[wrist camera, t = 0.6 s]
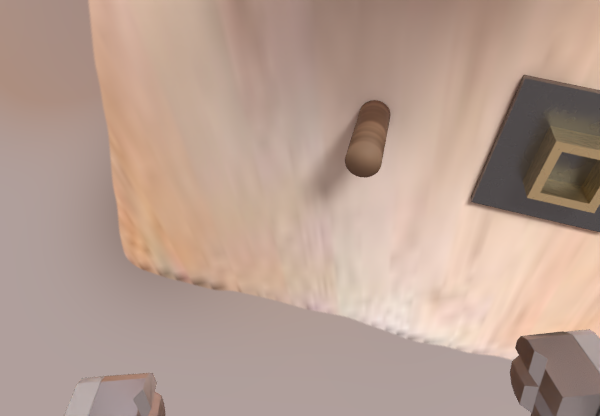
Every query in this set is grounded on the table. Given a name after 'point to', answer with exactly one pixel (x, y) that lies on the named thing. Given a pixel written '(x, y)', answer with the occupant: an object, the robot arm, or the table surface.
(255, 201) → the table surface
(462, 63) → the table surface
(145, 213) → the table surface
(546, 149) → the peg socket base
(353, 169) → the rail post
